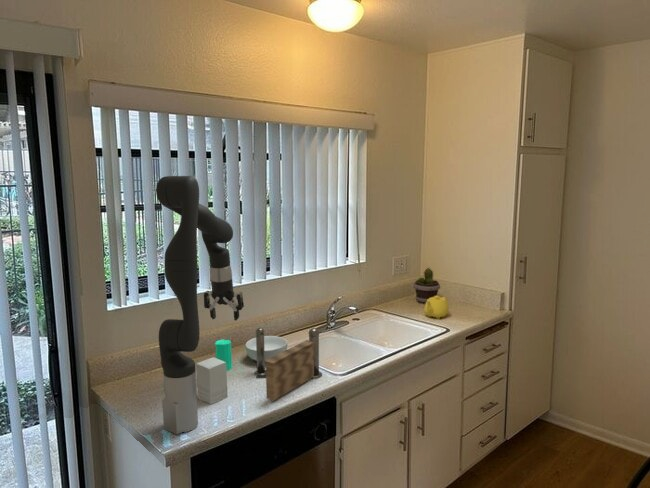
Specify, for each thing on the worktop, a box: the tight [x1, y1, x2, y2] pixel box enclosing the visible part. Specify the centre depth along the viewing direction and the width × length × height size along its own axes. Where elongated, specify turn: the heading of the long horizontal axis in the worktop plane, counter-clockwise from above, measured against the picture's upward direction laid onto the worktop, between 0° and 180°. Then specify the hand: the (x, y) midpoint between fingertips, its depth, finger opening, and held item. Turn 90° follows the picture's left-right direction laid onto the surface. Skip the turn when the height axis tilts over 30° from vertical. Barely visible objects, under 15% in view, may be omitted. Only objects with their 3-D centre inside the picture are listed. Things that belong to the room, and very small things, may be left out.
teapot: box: [423, 295, 450, 320], centre depth 259 cm, size 18×11×11 cm, turn 137°
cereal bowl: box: [245, 335, 288, 362], centre depth 204 cm, size 17×17×7 cm
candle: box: [214, 339, 233, 372], centre depth 195 cm, size 6×6×12 cm
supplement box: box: [195, 357, 229, 405], centre depth 171 cm, size 7×7×13 cm
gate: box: [265, 339, 315, 401], centre depth 177 cm, size 23×4×13 cm, turn 146°
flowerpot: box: [412, 265, 441, 305], centre depth 285 cm, size 14×15×20 cm
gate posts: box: [253, 327, 323, 380], centre depth 188 cm, size 7×26×18 cm, turn 89°
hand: (225, 319), depth 185 cm, fingers open, 8 cm apart
